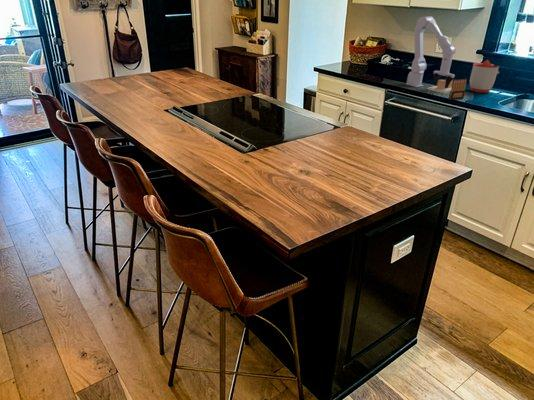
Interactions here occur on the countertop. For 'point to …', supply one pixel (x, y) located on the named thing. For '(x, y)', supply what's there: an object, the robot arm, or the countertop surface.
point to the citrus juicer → (483, 77)
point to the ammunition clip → (457, 90)
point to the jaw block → (441, 84)
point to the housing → (445, 90)
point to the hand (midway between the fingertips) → (441, 86)
